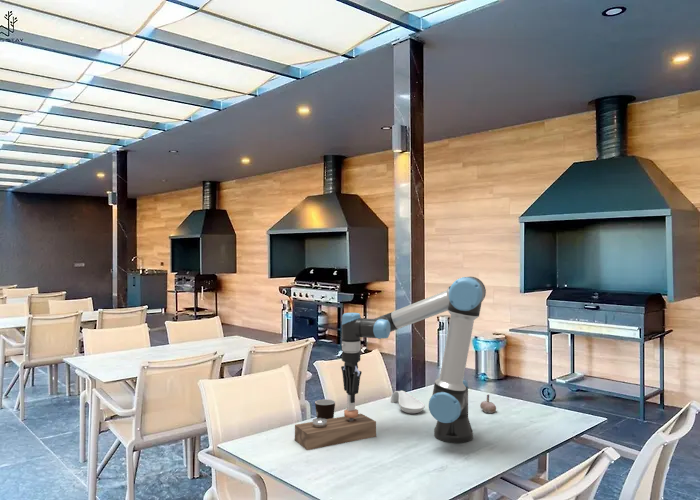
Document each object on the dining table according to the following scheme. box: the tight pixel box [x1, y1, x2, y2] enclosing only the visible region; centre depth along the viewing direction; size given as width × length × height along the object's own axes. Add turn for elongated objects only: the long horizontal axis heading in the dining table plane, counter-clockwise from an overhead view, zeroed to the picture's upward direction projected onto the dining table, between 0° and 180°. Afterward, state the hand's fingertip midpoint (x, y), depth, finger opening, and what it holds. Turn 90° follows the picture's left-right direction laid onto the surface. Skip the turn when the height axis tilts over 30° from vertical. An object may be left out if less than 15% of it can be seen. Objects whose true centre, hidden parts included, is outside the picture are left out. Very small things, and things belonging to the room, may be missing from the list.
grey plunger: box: [312, 417, 327, 428], centre depth 200 cm, size 6×6×8 cm
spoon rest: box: [390, 390, 425, 415], centre depth 243 cm, size 24×12×7 cm, turn 23°
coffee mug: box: [314, 398, 336, 419], centre depth 220 cm, size 12×9×10 cm
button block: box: [294, 413, 377, 451], centre depth 203 cm, size 12×30×6 cm, turn 119°
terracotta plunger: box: [343, 408, 359, 422], centre depth 206 cm, size 6×6×8 cm
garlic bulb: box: [480, 394, 497, 414], centre depth 238 cm, size 8×7×8 cm
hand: (351, 410), depth 206 cm, fingers closed
